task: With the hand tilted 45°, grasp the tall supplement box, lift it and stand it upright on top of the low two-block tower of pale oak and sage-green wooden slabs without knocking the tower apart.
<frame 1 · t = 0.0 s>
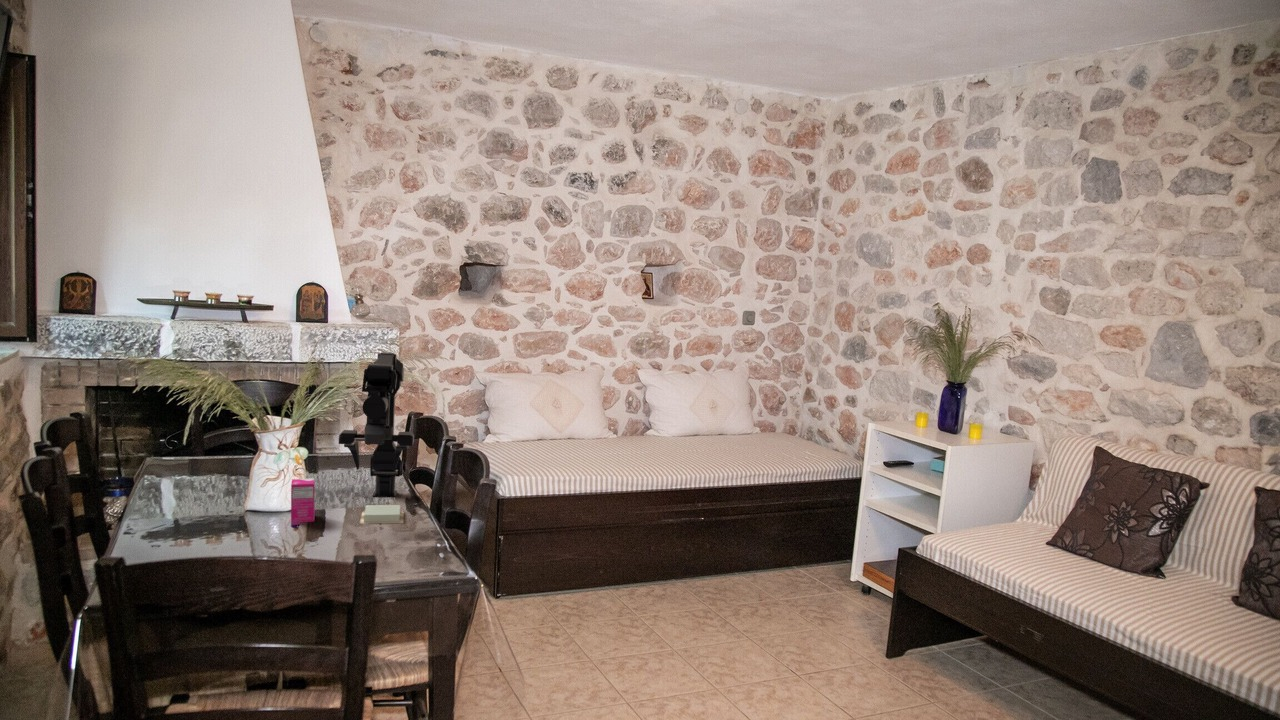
hand: (375, 469, 221), 15 cm above the table, tool pointing down, fingers open, 9 cm apart
tower top block: (382, 517, 224), point 1 cm above the table, touching tower base block
supplement box: (302, 524, 218), on the table
tower base block: (382, 524, 224), on the table, touching tower top block
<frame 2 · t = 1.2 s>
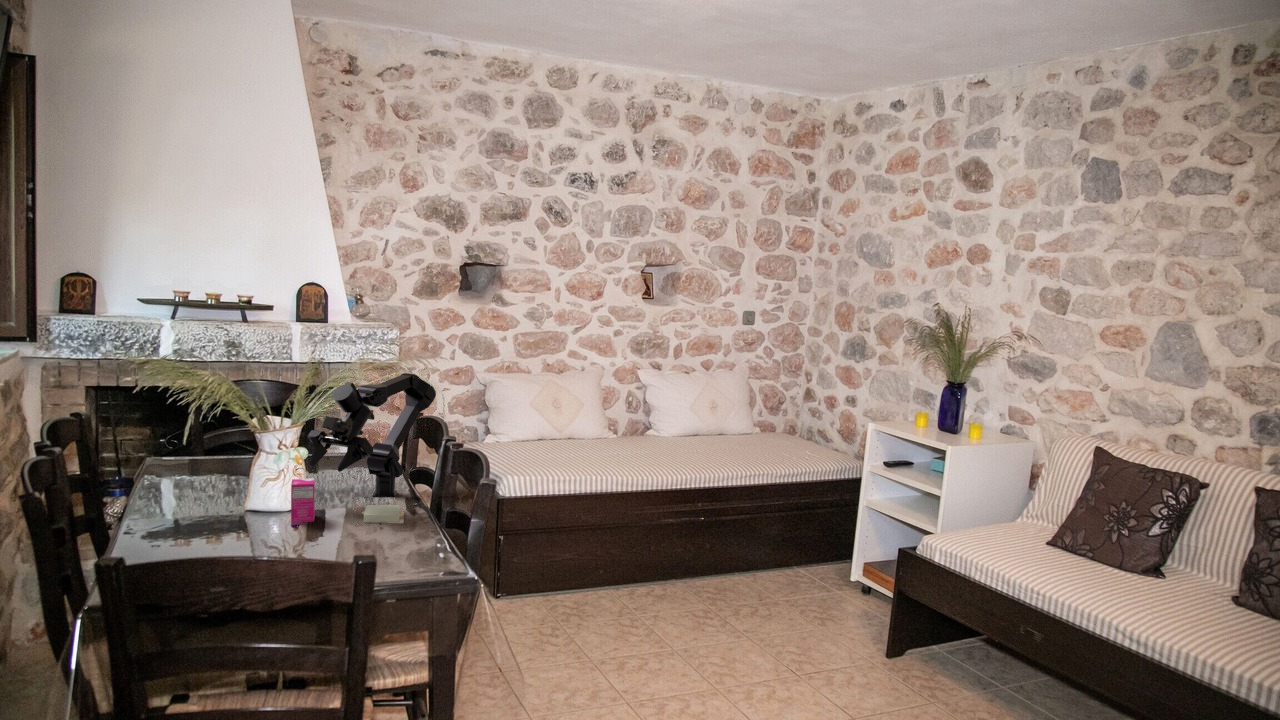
hand: (324, 468, 224), 13 cm above the table, tool tilted 45°, fingers open, 9 cm apart
nothing on the table moved.
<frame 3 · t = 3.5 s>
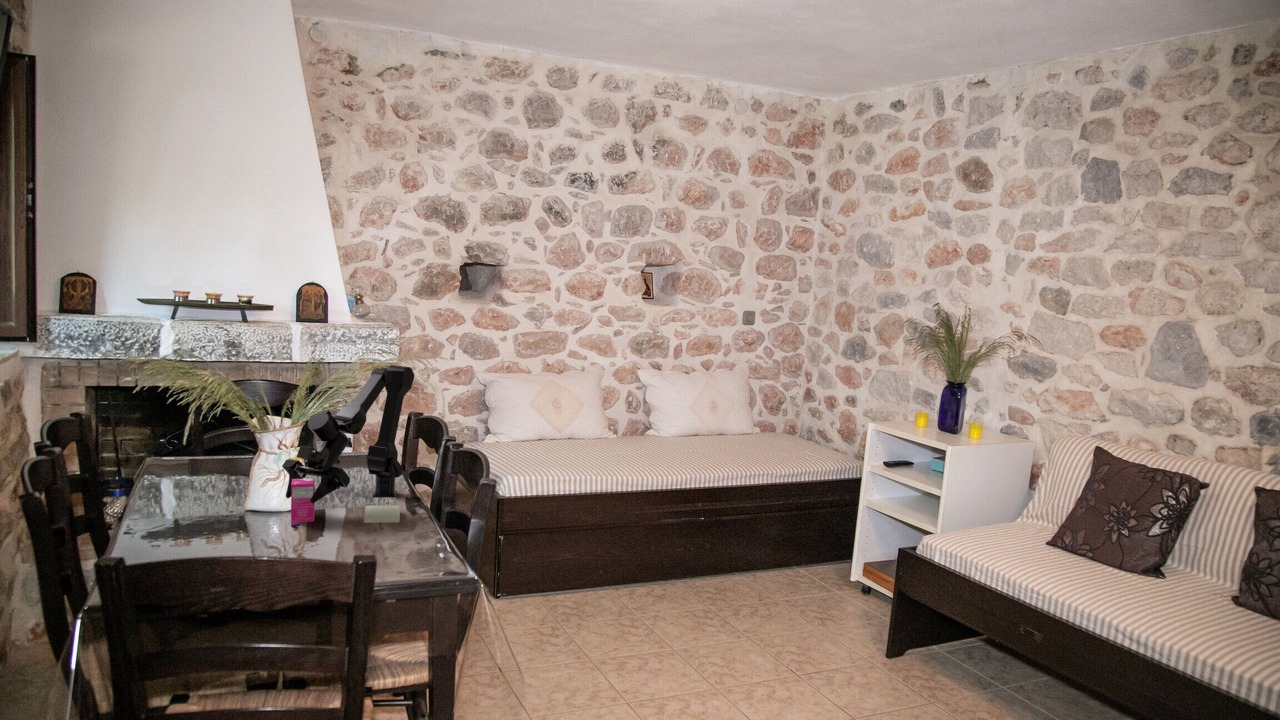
hand: (299, 500, 216), 7 cm above the table, tool tilted 45°, fingers closed on supplement box, 8 cm apart
supplement box: (302, 524, 218), on the table, touching gripper
everything else where it was.
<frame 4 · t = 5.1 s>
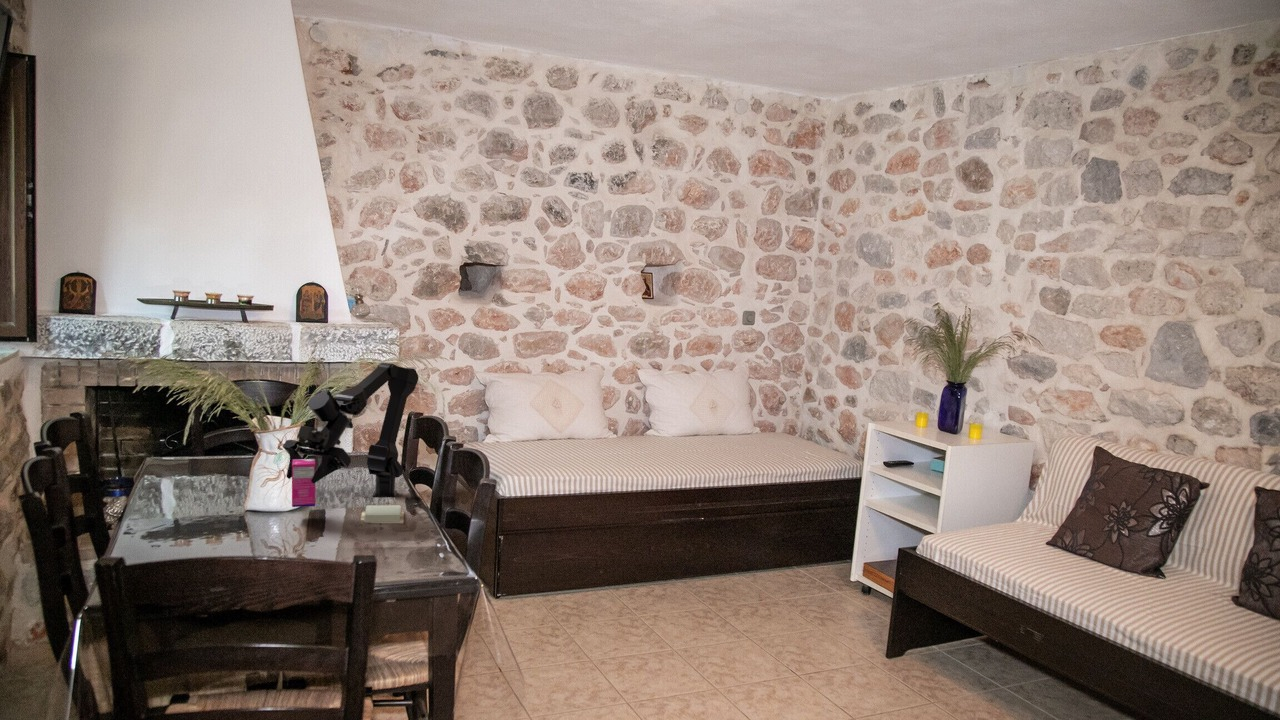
hand: (300, 480, 216), 12 cm above the table, tool tilted 45°, fingers closed on supplement box, 8 cm apart
supplement box: (303, 504, 218), point 5 cm above the table, touching gripper
everything else where it was.
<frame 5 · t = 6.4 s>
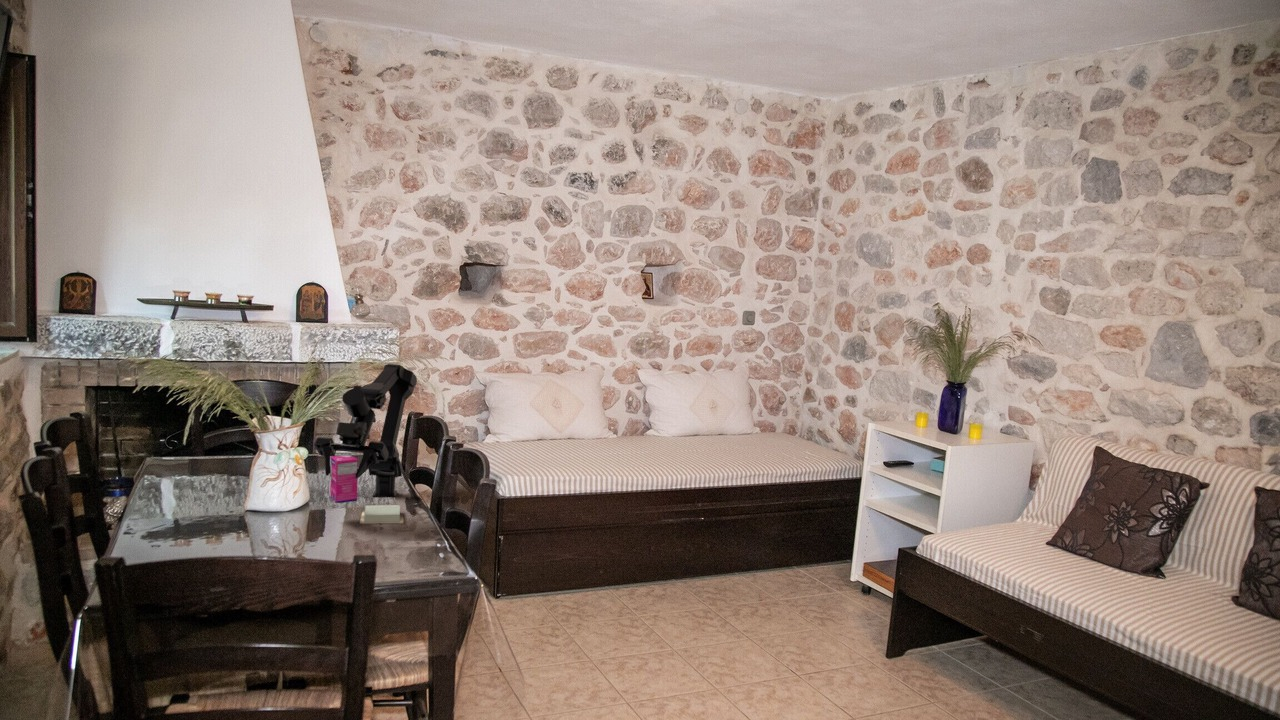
hand: (341, 476, 217), 13 cm above the table, tool tilted 45°, fingers closed on supplement box, 8 cm apart
supplement box: (342, 500, 219), point 6 cm above the table, touching gripper
everything else where it was.
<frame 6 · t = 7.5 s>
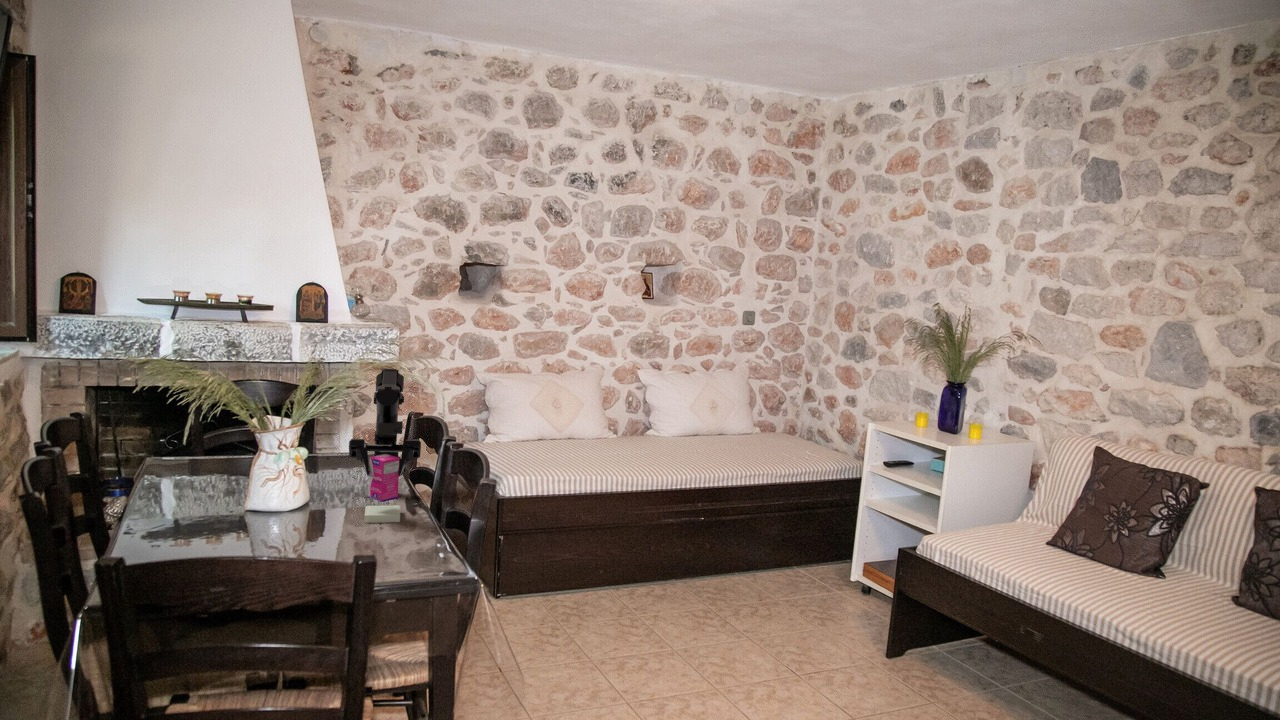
hand: (383, 475, 222), 13 cm above the table, tool tilted 45°, fingers closed on supplement box, 8 cm apart
supplement box: (382, 499, 224), point 6 cm above the table, touching gripper
everything else where it was.
when the fingers open (12 cm above the table, at t = 8.4 s): supplement box drops 2 cm, resting on tower top block.
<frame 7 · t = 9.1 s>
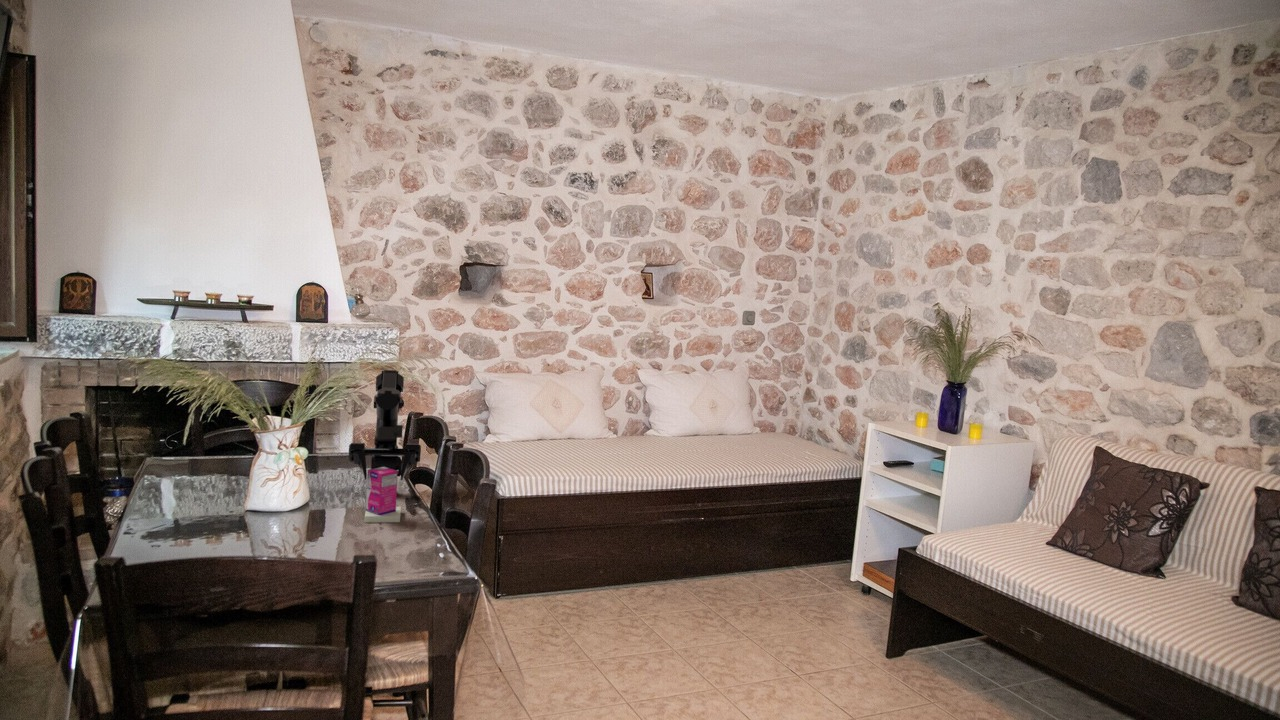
hand: (383, 479, 222), 12 cm above the table, tool tilted 45°, fingers open, 9 cm apart
tower top block: (382, 518, 224), point 1 cm above the table, touching supplement box, tower base block
supplement box: (380, 512, 224), point 3 cm above the table, touching tower top block
everything else where it was.
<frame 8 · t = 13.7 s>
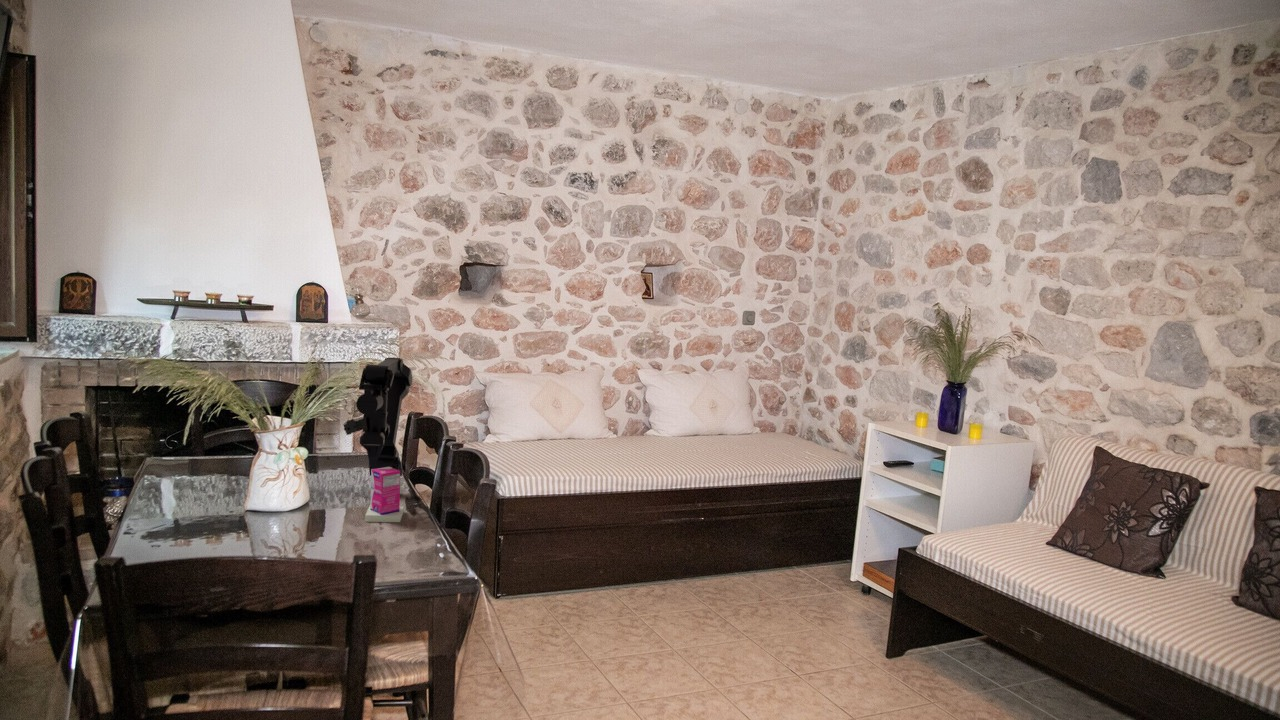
hand: (374, 463, 235), 13 cm above the table, tool pointing down, fingers open, 9 cm apart
supplement box: (384, 511, 224), point 3 cm above the table, touching tower top block
everything else where it was.
at the end: supplement box 0.4 cm off-centre on the tower top block, point 1.8 cm above the tower top block's base; supplement box tilted 0°; tower top block moved 1.2 cm from its start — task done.
